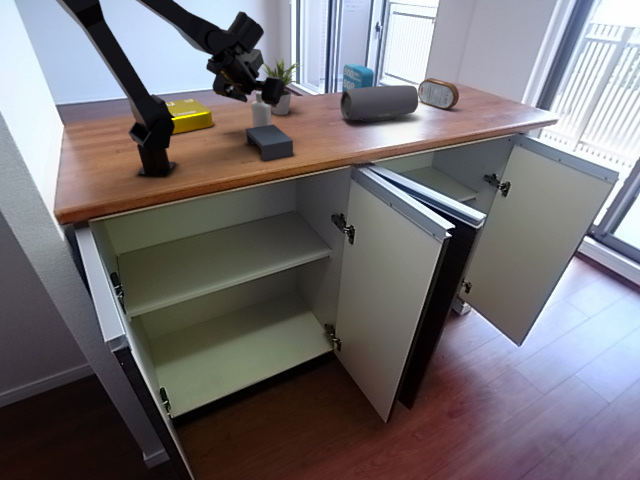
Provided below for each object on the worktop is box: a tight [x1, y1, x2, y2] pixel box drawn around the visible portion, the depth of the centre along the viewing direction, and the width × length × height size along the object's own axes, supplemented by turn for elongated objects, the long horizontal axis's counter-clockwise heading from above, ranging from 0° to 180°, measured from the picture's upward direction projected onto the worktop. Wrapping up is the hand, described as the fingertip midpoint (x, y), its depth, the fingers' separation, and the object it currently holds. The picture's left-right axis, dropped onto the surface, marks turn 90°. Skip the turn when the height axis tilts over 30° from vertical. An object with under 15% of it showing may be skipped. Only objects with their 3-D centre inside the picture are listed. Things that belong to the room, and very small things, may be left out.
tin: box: [417, 77, 460, 110], centre depth 128 cm, size 15×3×8 cm, turn 42°
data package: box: [341, 62, 375, 95], centre depth 126 cm, size 12×4×12 cm, turn 28°
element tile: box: [165, 98, 214, 135], centre depth 108 cm, size 15×15×5 cm
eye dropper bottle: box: [251, 91, 272, 128], centre depth 103 cm, size 4×6×12 cm
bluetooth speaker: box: [339, 84, 419, 123], centre depth 115 cm, size 23×9×10 cm, turn 110°
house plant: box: [260, 57, 304, 116], centre depth 114 cm, size 14×14×16 cm
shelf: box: [245, 124, 294, 162], centre depth 96 cm, size 8×12×4 cm, turn 29°
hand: (261, 103), depth 102 cm, fingers open, 9 cm apart
